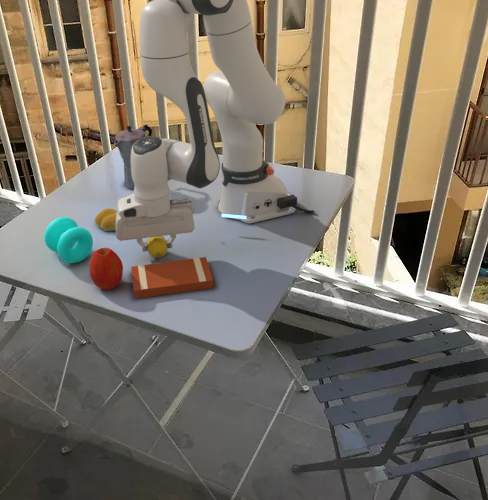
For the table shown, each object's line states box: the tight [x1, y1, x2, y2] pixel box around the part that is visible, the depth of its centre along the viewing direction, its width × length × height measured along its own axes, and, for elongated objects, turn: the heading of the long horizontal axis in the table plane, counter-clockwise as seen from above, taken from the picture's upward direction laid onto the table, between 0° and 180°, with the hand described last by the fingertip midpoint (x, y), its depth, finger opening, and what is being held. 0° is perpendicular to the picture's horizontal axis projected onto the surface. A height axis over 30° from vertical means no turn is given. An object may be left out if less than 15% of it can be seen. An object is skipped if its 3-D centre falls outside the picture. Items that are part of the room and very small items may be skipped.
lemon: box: [146, 236, 168, 259], centre depth 146 cm, size 7×5×5 cm
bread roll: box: [94, 208, 118, 232], centre depth 162 cm, size 8×9×4 cm
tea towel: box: [130, 256, 214, 299], centre depth 138 cm, size 19×10×2 cm, turn 97°
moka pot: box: [113, 124, 153, 190], centre depth 178 cm, size 10×15×20 cm, turn 139°
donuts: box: [43, 216, 94, 264], centre depth 148 cm, size 10×10×10 cm
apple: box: [88, 247, 124, 291], centre depth 136 cm, size 8×8×11 cm
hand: (157, 248), depth 147 cm, fingers closed on lemon, 5 cm apart
